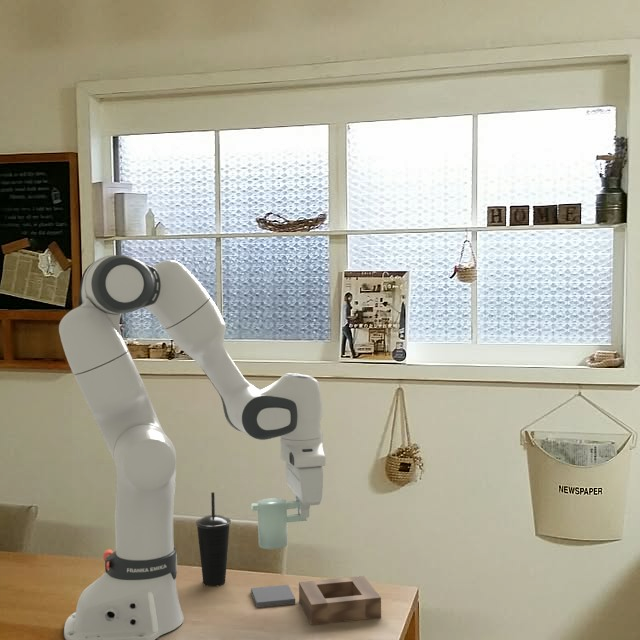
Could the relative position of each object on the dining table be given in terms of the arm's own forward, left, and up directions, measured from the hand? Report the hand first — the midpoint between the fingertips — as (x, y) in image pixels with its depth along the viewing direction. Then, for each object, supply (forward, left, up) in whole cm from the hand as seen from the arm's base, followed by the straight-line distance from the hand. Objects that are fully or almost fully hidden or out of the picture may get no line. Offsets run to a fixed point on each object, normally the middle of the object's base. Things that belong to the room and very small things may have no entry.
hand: (303, 515), depth 173 cm
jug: (-5, 0, -6) cm, 8 cm away
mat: (-7, 0, -17) cm, 18 cm away
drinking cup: (-18, +12, -17) cm, 27 cm away
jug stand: (+5, -9, -17) cm, 20 cm away
